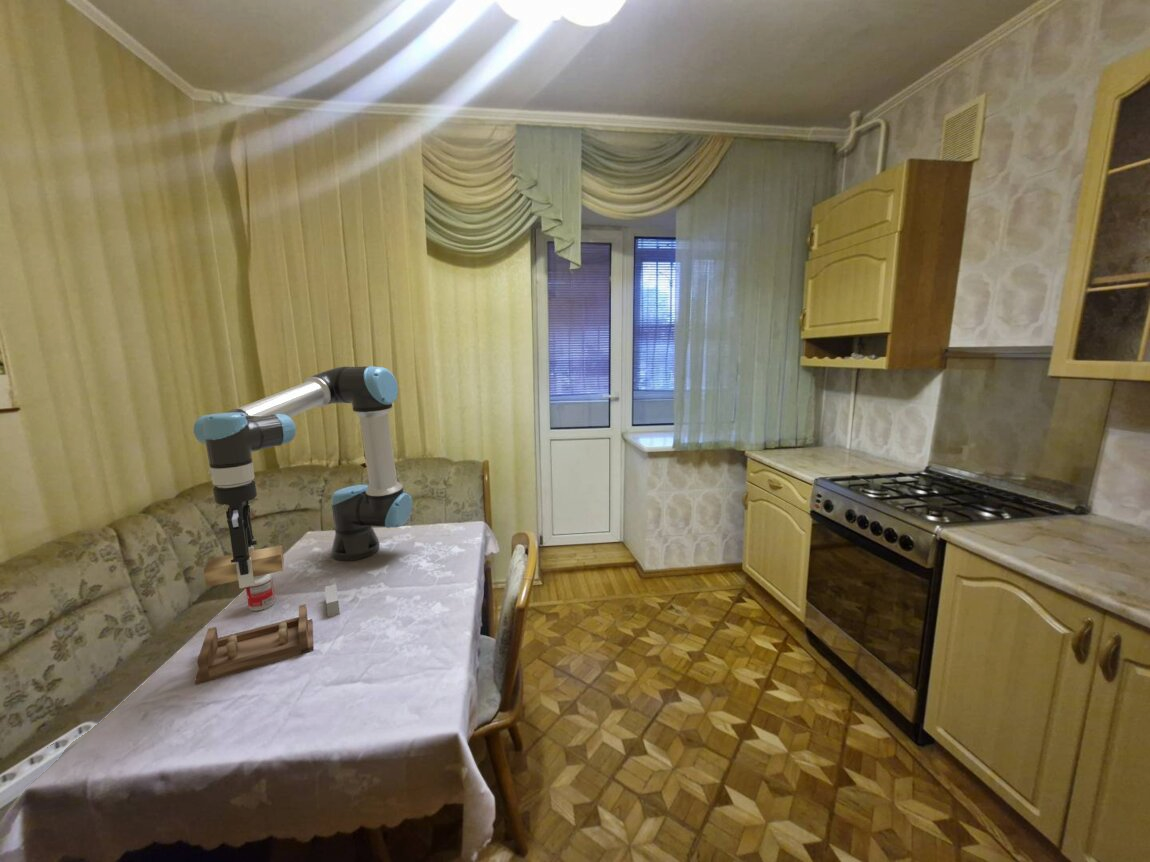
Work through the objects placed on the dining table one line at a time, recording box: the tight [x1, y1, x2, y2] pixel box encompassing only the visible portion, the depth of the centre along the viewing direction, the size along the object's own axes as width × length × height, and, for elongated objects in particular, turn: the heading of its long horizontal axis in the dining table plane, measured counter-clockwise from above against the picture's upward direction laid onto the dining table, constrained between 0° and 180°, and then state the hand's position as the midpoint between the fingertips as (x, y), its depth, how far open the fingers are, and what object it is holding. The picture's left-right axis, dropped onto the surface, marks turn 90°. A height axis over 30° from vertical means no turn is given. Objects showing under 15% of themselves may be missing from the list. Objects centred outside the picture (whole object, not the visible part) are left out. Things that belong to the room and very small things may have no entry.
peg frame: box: [194, 604, 314, 686], centre depth 108 cm, size 13×22×6 cm, turn 120°
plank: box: [203, 544, 285, 588], centre depth 104 cm, size 14×6×4 cm, turn 120°
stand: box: [324, 583, 341, 618], centre depth 126 cm, size 10×3×4 cm, turn 30°
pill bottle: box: [245, 573, 276, 612], centre depth 127 cm, size 6×6×11 cm
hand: (248, 579), depth 105 cm, fingers closed on plank, 6 cm apart
